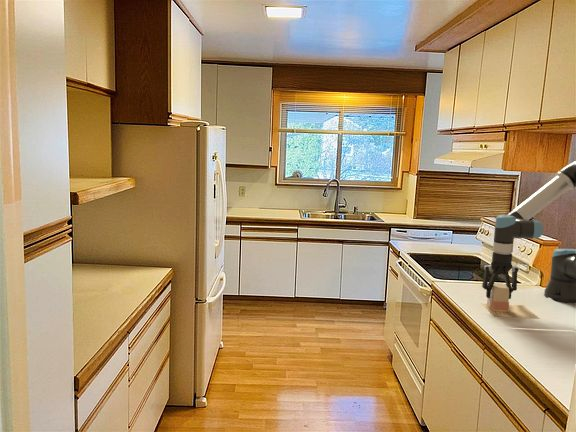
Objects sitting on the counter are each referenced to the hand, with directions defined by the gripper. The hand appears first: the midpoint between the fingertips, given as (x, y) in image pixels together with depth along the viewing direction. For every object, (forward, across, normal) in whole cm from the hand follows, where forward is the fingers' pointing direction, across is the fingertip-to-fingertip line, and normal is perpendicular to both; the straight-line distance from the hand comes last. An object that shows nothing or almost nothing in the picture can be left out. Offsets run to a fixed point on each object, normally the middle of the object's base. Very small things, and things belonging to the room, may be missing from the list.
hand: (497, 305), depth 203 cm
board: (+2, -4, +2) cm, 5 cm away
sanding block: (+1, 0, 0) cm, 1 cm away
